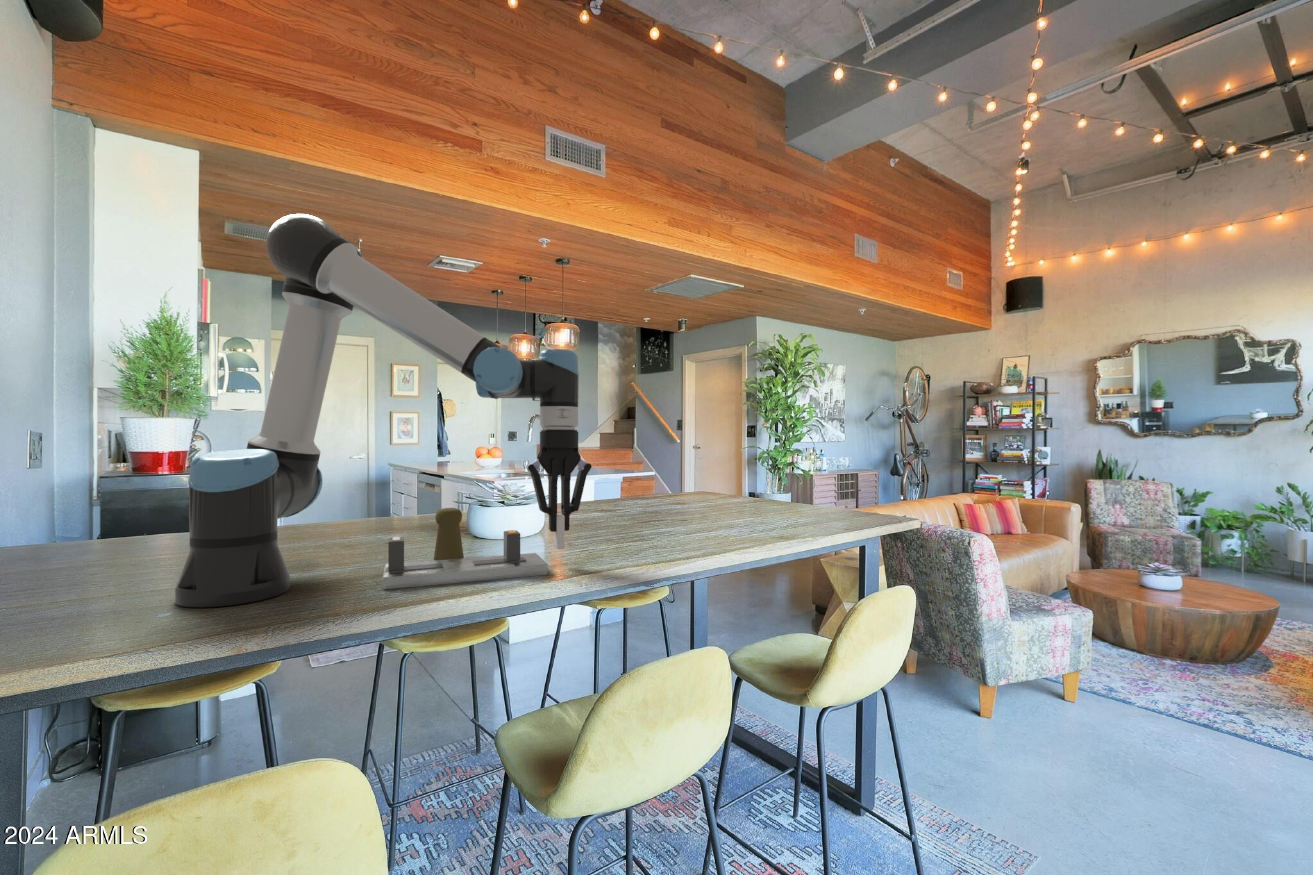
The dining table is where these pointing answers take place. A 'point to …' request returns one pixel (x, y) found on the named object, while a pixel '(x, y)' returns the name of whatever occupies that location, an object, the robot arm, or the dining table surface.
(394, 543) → the block
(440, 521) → the cork
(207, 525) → the robot arm
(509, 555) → the block
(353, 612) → the dining table surface
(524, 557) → the panel
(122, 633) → the dining table surface
